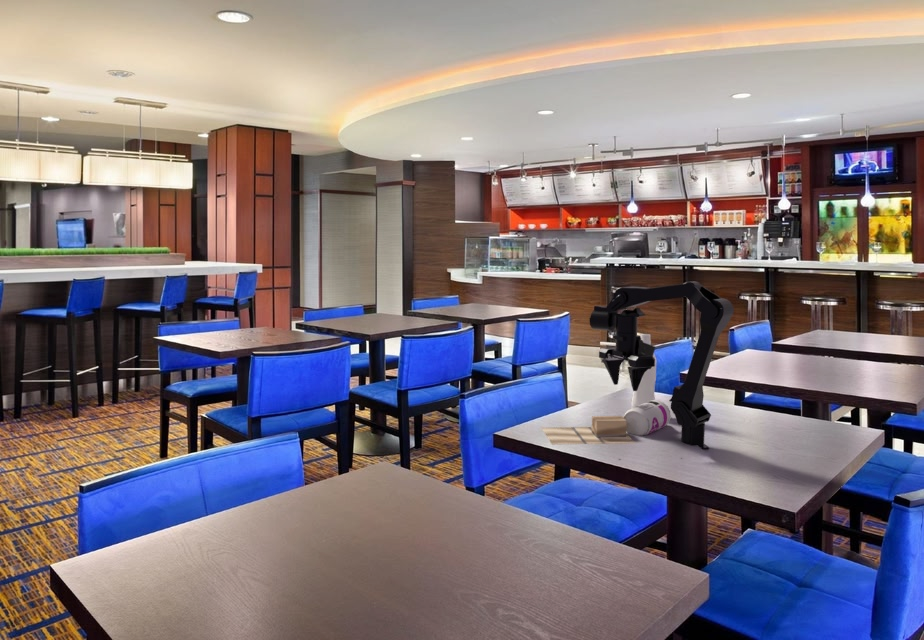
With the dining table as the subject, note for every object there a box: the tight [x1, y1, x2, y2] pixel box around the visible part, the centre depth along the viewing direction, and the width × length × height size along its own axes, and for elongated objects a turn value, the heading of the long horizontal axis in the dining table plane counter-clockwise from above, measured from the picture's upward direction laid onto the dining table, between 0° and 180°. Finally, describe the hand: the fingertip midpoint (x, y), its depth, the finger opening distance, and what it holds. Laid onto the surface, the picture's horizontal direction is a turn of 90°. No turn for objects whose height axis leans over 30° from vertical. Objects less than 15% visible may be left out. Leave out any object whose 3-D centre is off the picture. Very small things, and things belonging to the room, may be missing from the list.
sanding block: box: [591, 415, 627, 437], centre depth 183 cm, size 5×8×4 cm, turn 93°
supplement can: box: [623, 399, 672, 436], centre depth 189 cm, size 8×8×15 cm
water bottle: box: [631, 333, 658, 408], centre depth 208 cm, size 7×7×25 cm
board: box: [541, 426, 637, 445], centre depth 183 cm, size 16×22×1 cm
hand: (625, 387), depth 188 cm, fingers open, 9 cm apart
